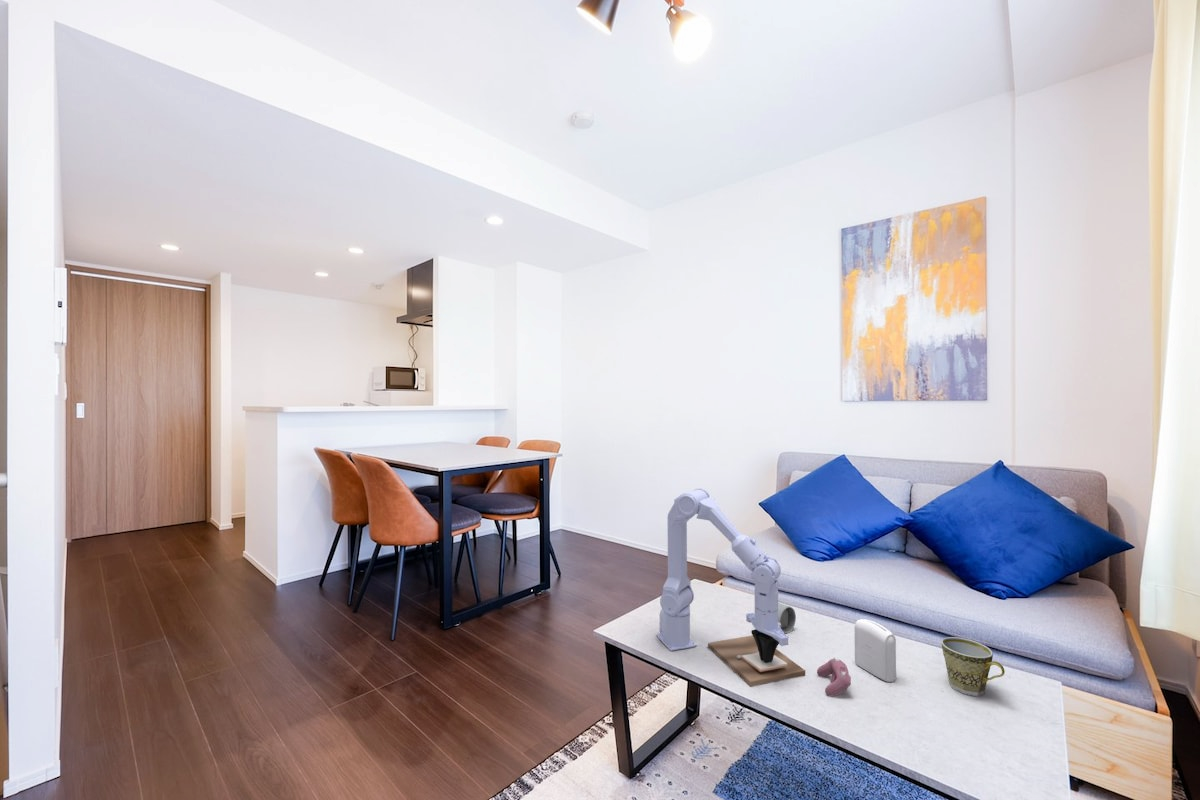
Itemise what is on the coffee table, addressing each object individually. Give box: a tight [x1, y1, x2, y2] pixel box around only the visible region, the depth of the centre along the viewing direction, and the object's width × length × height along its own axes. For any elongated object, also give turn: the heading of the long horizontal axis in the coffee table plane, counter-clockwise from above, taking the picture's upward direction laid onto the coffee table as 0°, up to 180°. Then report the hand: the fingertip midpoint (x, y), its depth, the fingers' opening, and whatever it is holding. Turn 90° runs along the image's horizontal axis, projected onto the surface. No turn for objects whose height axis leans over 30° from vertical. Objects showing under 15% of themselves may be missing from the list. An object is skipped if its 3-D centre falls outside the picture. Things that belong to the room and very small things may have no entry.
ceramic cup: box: [941, 636, 1006, 697], centre depth 119 cm, size 13×10×10 cm
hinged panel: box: [737, 653, 788, 672], centre depth 129 cm, size 9×10×1 cm
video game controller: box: [816, 657, 852, 697], centre depth 121 cm, size 10×5×7 cm, turn 169°
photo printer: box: [854, 618, 897, 683], centre depth 128 cm, size 10×4×12 cm, turn 20°
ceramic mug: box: [778, 602, 797, 634], centre depth 151 cm, size 11×8×8 cm
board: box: [707, 634, 806, 687], centre depth 133 cm, size 20×16×1 cm
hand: (766, 660), depth 128 cm, fingers closed
